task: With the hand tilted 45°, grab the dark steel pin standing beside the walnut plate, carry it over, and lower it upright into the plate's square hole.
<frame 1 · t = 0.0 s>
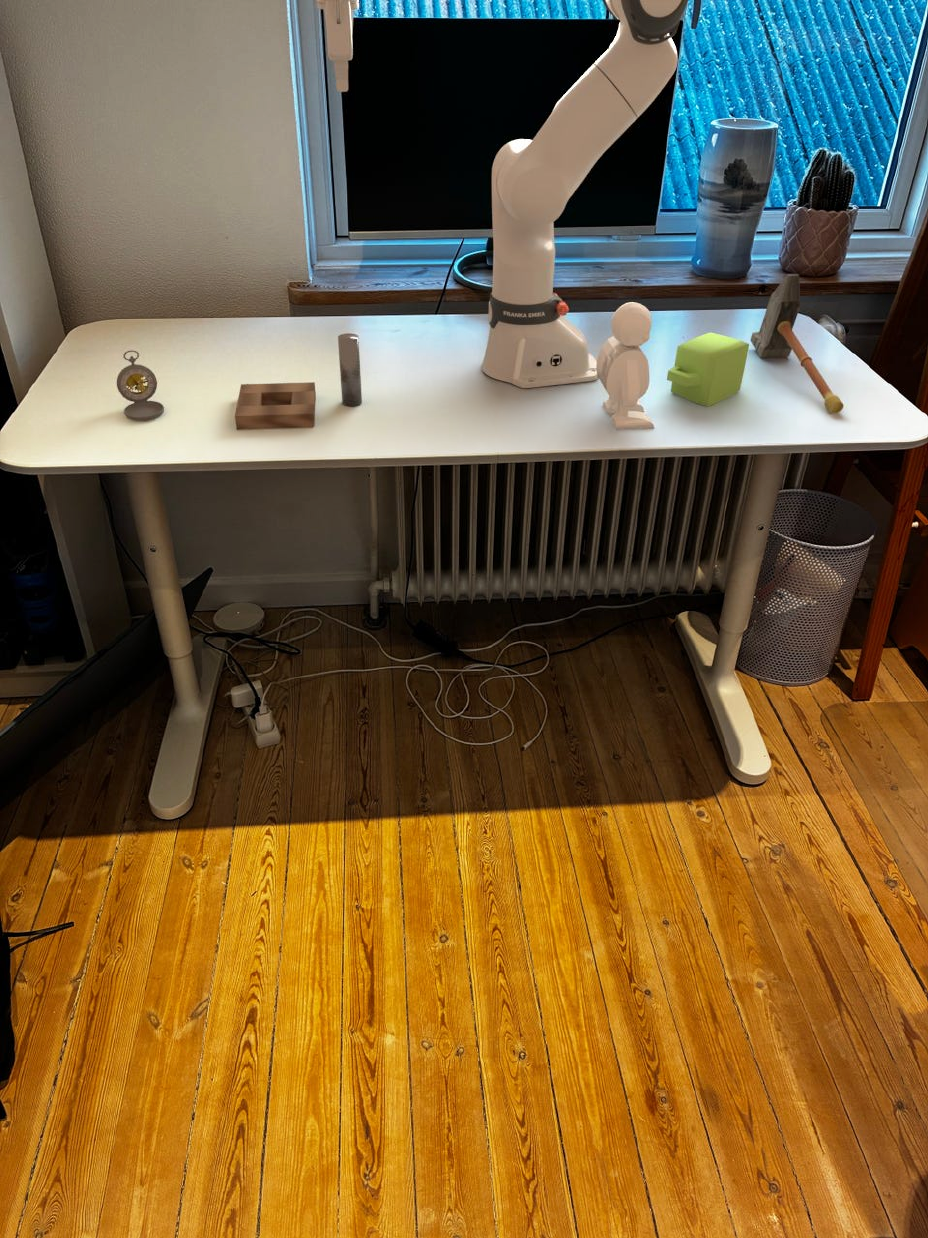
hand: (342, 85, 151), 48 cm above the table, tool pointing down, fingers open, 8 cm apart
lime green lipped cube: (703, 391, 177), on the table
steel pin: (352, 402, 170), on the table
hammer: (796, 380, 182), on the table
socket plate: (277, 411, 166), on the table
toy robot: (621, 417, 167), on the table
pocket watch: (144, 412, 166), on the table
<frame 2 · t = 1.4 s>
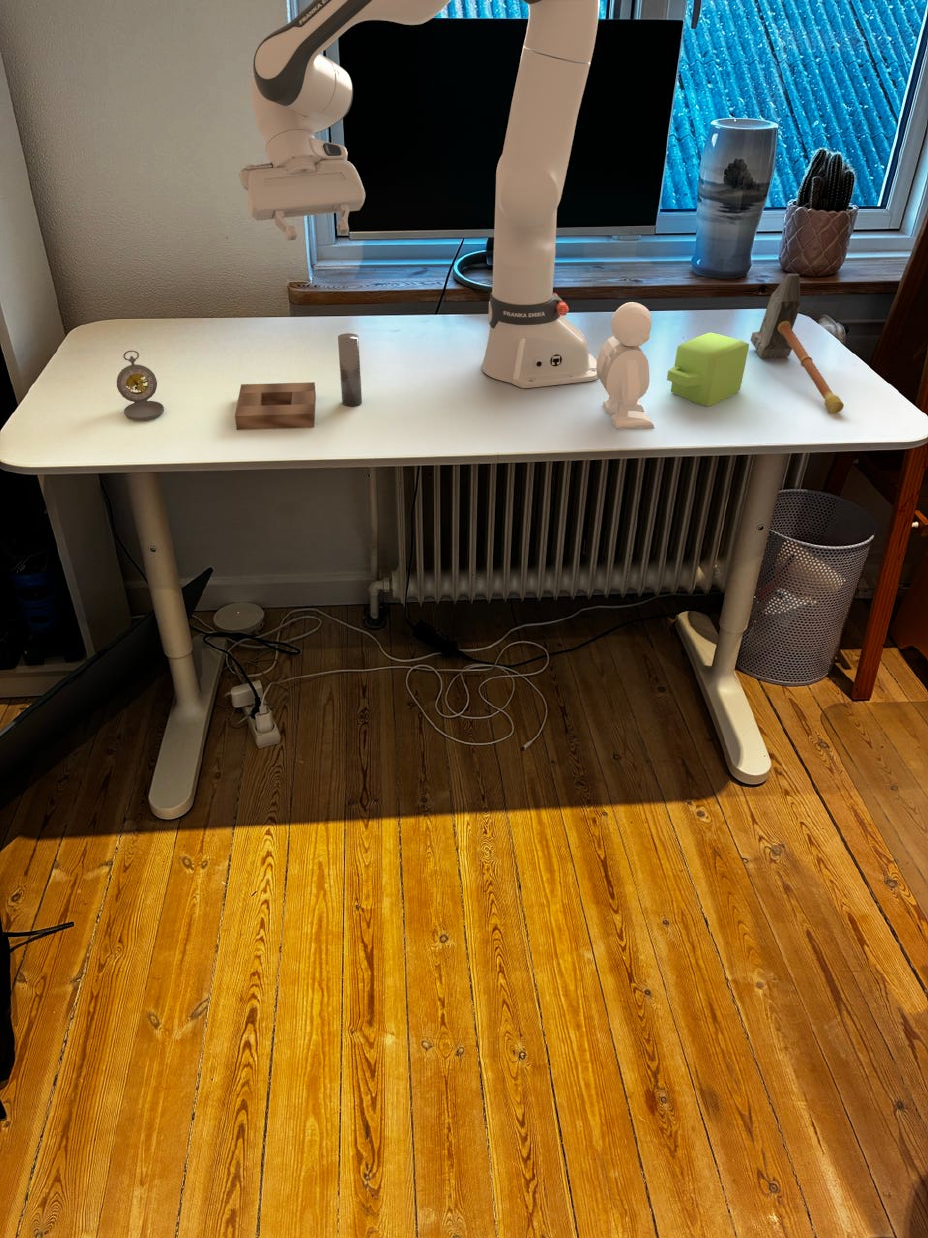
hand: (318, 235, 163), 26 cm above the table, tool tilted 45°, fingers open, 8 cm apart
nothing on the table moved.
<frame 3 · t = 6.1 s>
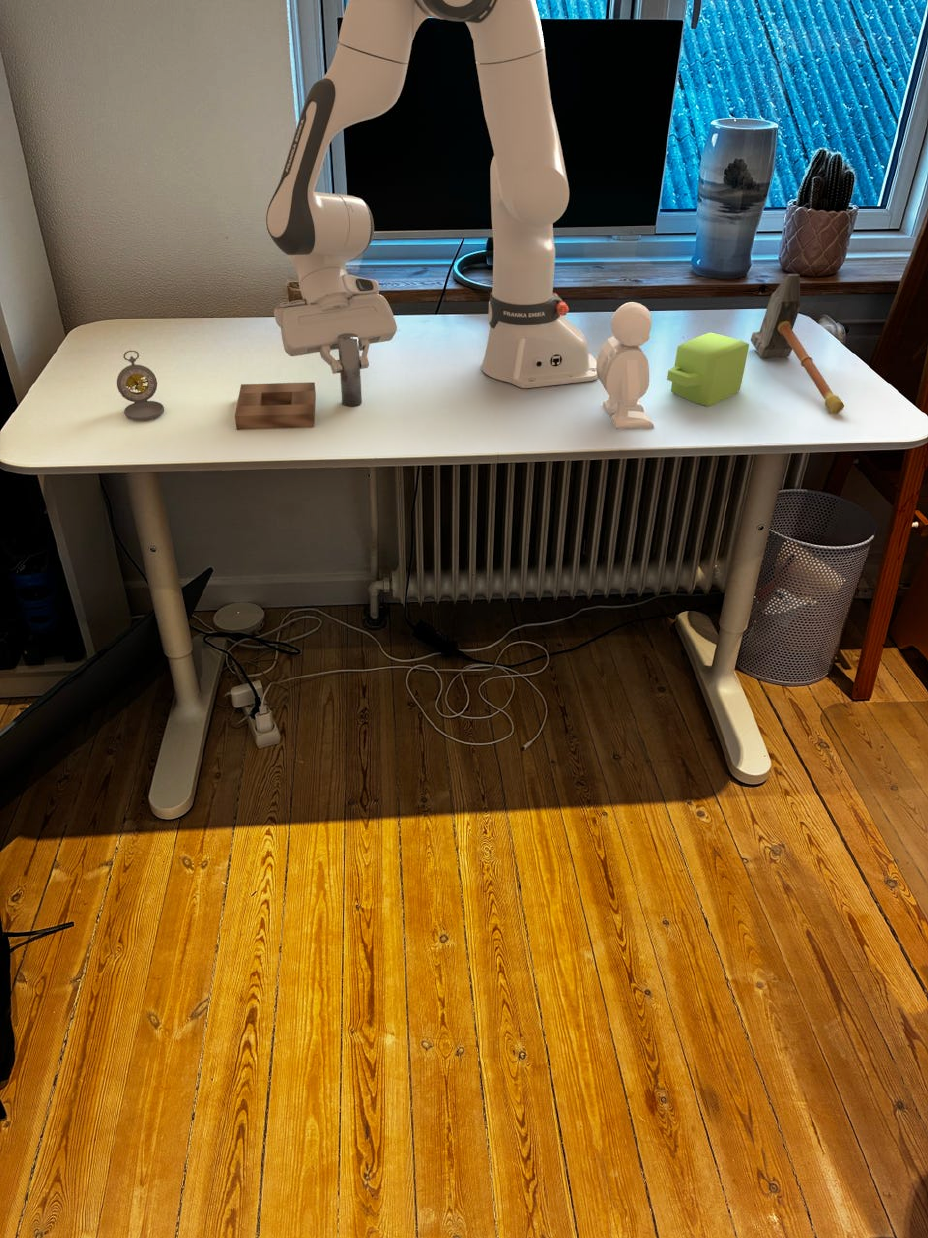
hand: (351, 369, 166), 6 cm above the table, tool tilted 45°, fingers closed on steel pin, 3 cm apart
steel pin: (352, 402, 170), on the table, touching gripper
everything else where it was.
when the fingers open (7 cm above the table, at t = 12.0 s): steel pin stays where it is, resting in socket plate.
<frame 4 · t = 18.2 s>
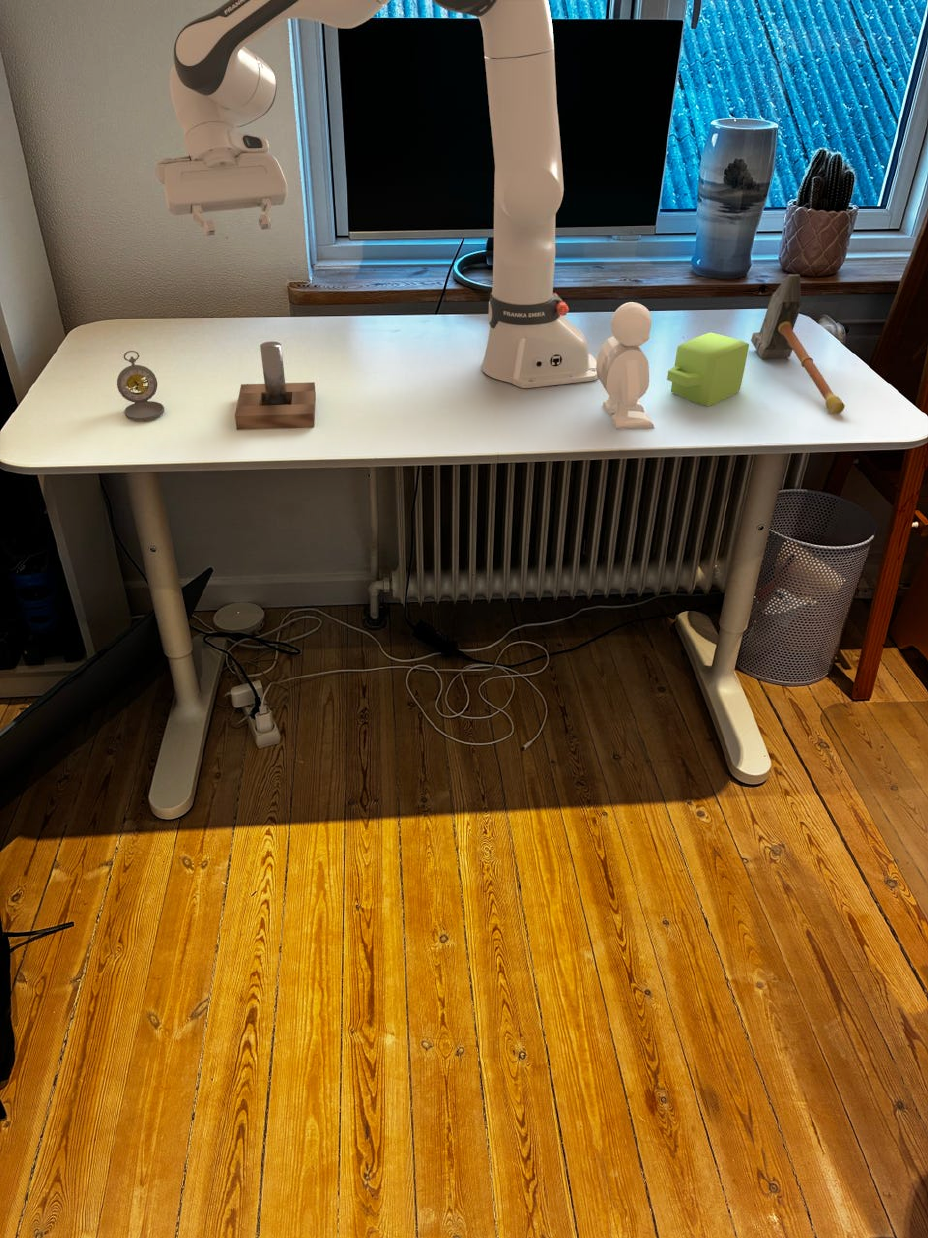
hand: (238, 230, 159), 27 cm above the table, tool tilted 45°, fingers open, 8 cm apart
steel pin: (278, 411, 166), resting in socket plate
everything else where it was.
at the end: steel pin 0.1 cm from the socket plate (horizontally); steel pin resting in socket plate; steel pin tilted 0° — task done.
